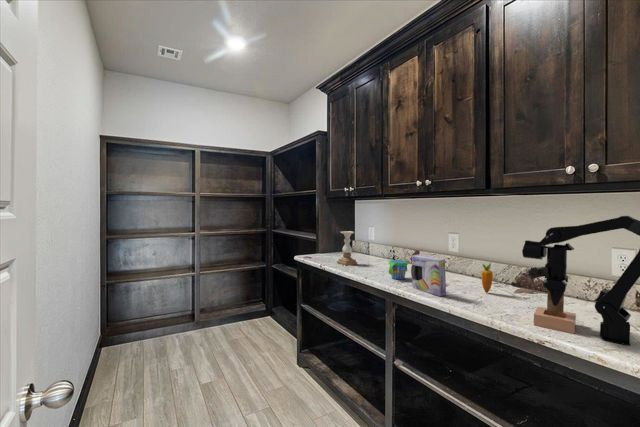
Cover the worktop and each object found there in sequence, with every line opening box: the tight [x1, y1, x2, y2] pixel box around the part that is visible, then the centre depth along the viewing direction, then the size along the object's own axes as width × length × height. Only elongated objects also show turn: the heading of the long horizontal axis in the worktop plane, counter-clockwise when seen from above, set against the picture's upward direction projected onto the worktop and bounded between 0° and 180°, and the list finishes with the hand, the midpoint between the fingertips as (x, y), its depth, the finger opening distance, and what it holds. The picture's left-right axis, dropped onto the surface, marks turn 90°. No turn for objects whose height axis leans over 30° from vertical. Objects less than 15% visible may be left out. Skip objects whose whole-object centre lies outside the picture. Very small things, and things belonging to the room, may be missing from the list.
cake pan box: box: [410, 254, 447, 297], centre depth 156 cm, size 19×5×18 cm, turn 27°
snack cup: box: [388, 259, 409, 280], centre depth 183 cm, size 16×10×10 cm
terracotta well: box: [533, 306, 577, 334], centre depth 113 cm, size 12×12×4 cm
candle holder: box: [336, 230, 358, 267], centre depth 227 cm, size 11×11×24 cm
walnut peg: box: [546, 289, 565, 315], centre depth 113 cm, size 4×4×10 cm
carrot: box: [481, 262, 494, 294], centre depth 154 cm, size 5×5×15 cm
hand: (555, 303), depth 113 cm, fingers closed on walnut peg, 4 cm apart
